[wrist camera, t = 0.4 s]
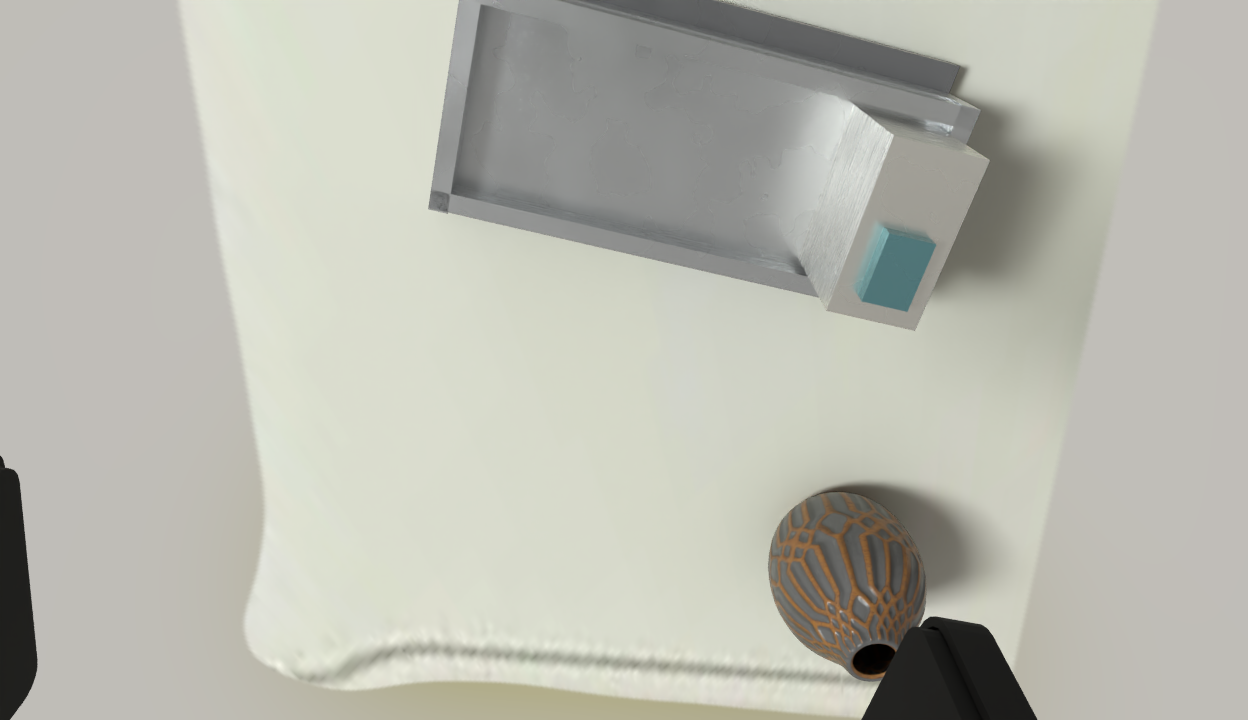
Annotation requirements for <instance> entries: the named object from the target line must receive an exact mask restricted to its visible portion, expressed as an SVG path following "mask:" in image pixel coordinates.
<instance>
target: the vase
mask: <svg viewBox="0 0 1248 720" xmlns="http://www.w3.org/2000/svg"><path fill="white" fill-rule="evenodd" d="M768 571H769V580H770V586H771V591H772V594H773V598H774V601H775V604H776V606H777V608H778V611H779V613H780V615H781V616H782V618H783V620H784V621H785V623H786V625H787V626H788V627H789V629H790V630H791V631H792V633H793V634H794V635H795V636H796V637H797V639H798V640H799V641H800V642H801V643H803V644H804V645H805V646H806V647H807V648H809V649H810V650H811V651H813V652H814V653H816V654H818V655H820V656H822V657H823V658H825V659H828V660H830V661H832V662H834V663H837V664H839V665H841V666H843V667H844V668H845V669H846V670H847V671H848V672H849V673H850V674H851V675H852V676H853V677H855V678H857V679H859V680H863V681H880V680H882V679H883V677H884V675H885V673H886V671H887V669H888V667H889V665H890V663H891V661H892V659H893V657H894V655H895V653H896V651H897V649H898V647H899V645H900V643H901V641H902V639H903V637H904V636H905V634H906V633H907V631H908V630H909V629H910V628H912V627H919V625H920V623H921V620H922V617H923V614H924V610H925V604H926V579H925V572H924V567H923V563H922V560H921V557H920V555H919V552H918V550H917V548H916V546H915V544H914V542H913V540H912V538H911V537H910V535H909V533H908V532H907V530H906V529H905V527H904V526H903V525H902V524H901V523H900V521H899V520H898V519H897V518H896V517H895V516H894V515H893V514H892V513H890V512H889V511H888V510H887V509H886V508H884V507H883V506H881V505H880V504H878V503H877V502H875V501H873V500H871V499H869V498H867V497H864V496H861V495H858V494H853V493H846V492H830V493H824V494H819V495H816V496H813V497H811V498H808V499H806V500H805V501H803V502H801V503H800V504H798V505H797V506H795V507H794V508H793V509H792V510H791V511H790V512H789V513H788V514H787V515H786V516H785V517H784V518H783V520H782V521H781V522H780V524H779V526H778V527H777V530H776V532H775V534H774V536H773V539H772V543H771V547H770V552H769V562H768Z"/></svg>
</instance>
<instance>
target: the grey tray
mask: <svg viewBox="0 0 1248 720" xmlns="http://www.w3.org/2000/svg"><path fill="white" fill-rule="evenodd" d="M959 67H960V66H958V65H956V64H953V63H950V62H947V61H943V60H939V59H935V58H932V57H928V56H924V55H921V54H917V53H913V52H909V51H906V50H902V49H898V48H894V47H891V46H887V45H883V44H880V43H876V42H872V41H868V40H865V39H861V38H857V37H854V36H850V35H846V34H842V33H839V32H835V31H831V30H827V29H824V28H820V27H816V26H813V25H809V24H805V23H801V22H798V21H794V20H790V19H787V18H783V17H779V16H775V15H772V14H768V13H764V12H760V11H757V10H753V9H749V8H746V7H742V6H738V5H734V4H731V3H727V2H723V1H720V0H459V4H458V10H457V17H456V24H455V31H454V38H453V44H452V51H451V58H450V65H449V72H448V78H447V85H446V92H445V99H444V106H443V112H442V119H441V126H440V133H439V140H438V146H437V153H436V160H435V167H434V174H433V180H432V187H431V194H430V201H429V208H428V209H430V210H434V211H438V212H443V213H447V214H448V212H449V213H453V214H457V215H462V216H466V217H470V218H475V219H479V220H483V221H488V222H492V223H496V224H501V225H505V226H510V227H514V228H518V229H523V230H527V231H531V232H536V233H540V234H544V235H549V236H553V237H558V238H562V239H566V240H571V241H575V242H579V243H584V244H588V245H592V246H597V247H601V248H606V249H610V250H614V251H619V252H623V253H627V254H632V255H636V256H640V257H645V258H649V259H653V260H658V261H662V262H667V263H671V264H675V265H680V266H684V267H688V268H693V269H697V270H701V271H706V272H710V273H715V274H719V275H723V276H728V277H732V278H736V279H741V280H745V281H749V282H754V283H758V284H763V285H767V286H771V287H776V288H780V289H784V290H789V291H793V292H797V293H802V294H806V295H810V296H815V297H819V298H820V300H821V302H822V303H823V305H824V307H825V309H826V311H831V312H835V313H839V314H844V315H848V316H853V317H857V318H861V319H866V320H870V321H874V322H879V323H883V324H888V325H892V326H896V327H901V328H905V329H910V330H914V331H915V329H916V327H917V325H918V323H919V320H920V318H921V316H922V314H923V311H924V309H925V307H926V305H927V302H928V300H929V298H930V296H931V293H932V291H933V289H934V286H935V284H936V282H937V280H938V277H939V275H940V273H941V271H942V268H943V266H944V264H945V262H946V259H947V257H948V255H949V253H950V250H951V248H952V246H953V243H954V241H955V239H956V237H957V234H958V232H959V230H960V228H961V225H962V223H963V221H964V219H965V216H966V214H967V212H968V209H969V207H970V205H971V203H972V200H973V198H974V196H975V194H976V191H977V189H978V187H979V185H980V182H981V180H982V178H983V176H984V173H985V171H986V169H987V166H988V164H989V162H990V160H989V159H987V158H986V157H984V156H983V155H981V154H980V153H978V152H977V151H975V150H973V149H972V148H970V147H969V146H967V145H966V144H967V142H968V140H969V137H970V135H971V133H972V130H973V128H974V126H975V123H976V121H977V119H978V116H979V114H980V112H981V110H980V109H978V108H976V107H974V106H972V105H971V104H969V103H967V102H965V101H963V100H961V99H959V98H957V97H955V96H953V95H952V94H950V93H949V92H950V89H951V87H952V85H953V82H954V80H955V77H956V75H957V72H958V70H959Z"/></svg>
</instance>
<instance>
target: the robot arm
mask: <svg viewBox="0 0 1248 720" xmlns="http://www.w3.org/2000/svg"><path fill="white" fill-rule="evenodd" d="M36 671H37V651H36V641H35V631H34V622H33V611H32V601H31V591H30V582H29V572H28V563H27V552H26V541H25V532H24V521H23V512H22V501H21V492H20V482H19V478H18V475H17V473H16V472H15V471H14V470H12V469H9V468H5V465H4V461H3V459H2V457H1V456H0V720H10V719H11V718H12V716H13V715H14V714H15V712H16V711H17V709H18V708H19V707H20V706H21V704H22V703H23V701H24V700H25V698H26V697H27V695H28V693H29V691H30V689H31V687H32V685H33V682H34V679H35V676H36ZM862 720H1037V718H1036V716H1035V714H1034V712H1033V710H1032V709H1031V707H1030V705H1029V703H1028V701H1027V699H1026V697H1025V696H1024V694H1023V692H1022V690H1021V688H1020V686H1019V684H1018V682H1017V681H1016V679H1015V677H1014V675H1013V673H1012V671H1011V669H1010V667H1009V665H1008V663H1007V662H1006V660H1005V658H1004V656H1003V654H1002V652H1001V650H1000V648H999V647H998V645H997V643H996V641H995V639H994V637H993V635H992V634H991V633H990V631H989V630H988V629H987V628H986V627H984V626H983V625H981V624H975V623H969V622H964V621H958V620H952V619H947V618H941V617H929V618H928V619H926V620H925V621H924V622H923V624H922V625H921V626H920V627H912V628H910V629H909V630H908V631H907V633H906V634H905V636H904V637H903V639H902V641H901V643H900V645H899V647H898V649H897V651H896V653H895V655H894V657H893V659H892V661H891V663H890V665H889V667H888V669H887V671H886V673H885V675H884V677H883V679H882V681H881V683H880V684H879V686H878V688H877V690H876V692H875V694H874V696H873V698H872V700H871V702H870V704H869V706H868V708H867V710H866V712H865V714H864V716H863V718H862Z"/></svg>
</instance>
